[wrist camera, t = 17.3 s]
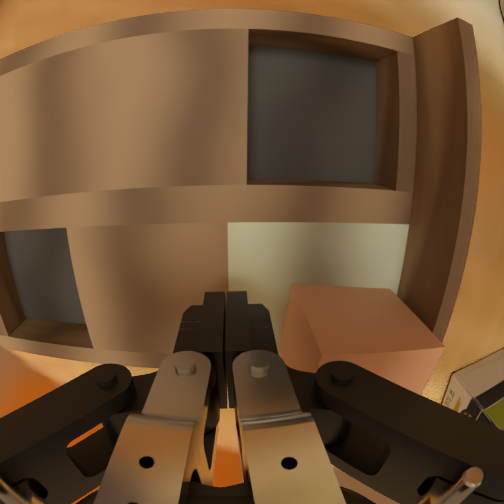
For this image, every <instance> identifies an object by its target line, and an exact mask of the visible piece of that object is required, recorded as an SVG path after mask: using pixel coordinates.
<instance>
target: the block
mask: <svg viewBox="0 0 504 504" xmlns="http://www.w3.org/2000/svg"><path fill="white" fill-rule="evenodd" d="M444 349H445V346H444V345H443V344H442V343H441V342H440V340H439V339H438V338H437V337H436V336H435V335H434V334H433V333H432V332H431V331H430V330H429V329H428V327H427V326H426V325H425V324H424V323H423V322H422V321H421V320H420V319H419V318H418V317H417V316H416V315H415V314H414V313H413V312H412V311H411V310H410V309H409V308H408V307H407V306H406V305H405V304H404V302H403V301H402V300H401V299H400V298H399V297H398V296H397V295H396V294H395V293H394V292H393V291H392V290H391V289H385V288H363V287H344V286H326V285H309V284H293V283H292V285H291V291H290V296H289V302H288V307H287V312H286V317H285V323H284V328H283V333H282V338H281V343H280V348H279V353H278V355H279V356H280V357H281V358H282V359H283V361H284V363H285V364H286V365H287V366H289V367H290V368H293V369H295V370H299V371H304V372H311V373H316V372H317V370H318V369H319V367H321V366H322V365H323V364H325V363H328V362H331V361H348V362H352V363H354V364H357V365H359V366H361V367H363V368H365V369H367V370H369V371H371V372H373V373H375V374H377V375H379V376H381V377H383V378H385V379H387V380H389V381H391V382H393V383H395V384H398V385H400V386H402V387H404V388H406V389H408V390H410V391H413V392H415V393H417V394H419V395H421V394H422V392H423V390H424V388H425V387H426V385H427V383H428V381H429V379H430V377H431V375H432V373H433V371H434V369H435V368H436V366H437V364H438V361H439V359H440V357H441V355H442V353H443V351H444Z"/></svg>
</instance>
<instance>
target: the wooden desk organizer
mask: <svg viewBox="0 0 504 504" xmlns="http://www.w3.org/2000/svg"><path fill="white" fill-rule="evenodd" d="M480 158H481V93H480V79H479V68H478V59H477V52H476V45H475V38H474V32H473V27H472V25H471V24H469V23H467V22H466V21H464V20H462V19H460V18H456V19H453V20H451V21H448V22H446V23H444V24H441V25H439V26H437V27H435V28H432V29H430V30H428V31H426V32H423V33H421V34H419V35H417V36H415V37H410V36H406V35H403V34H400V33H397V32H393V31H390V30H386V29H383V28H379V27H375V26H371V25H367V24H363V23H358V22H354V21H349V20H344V19H339V18H333V17H327V16H321V15H314V14H307V13H298V12H289V11H277V10H262V9H203V10H188V11H176V12H167V13H159V14H151V15H145V16H139V17H133V18H127V19H122V20H117V21H112V22H108V23H104V24H99V25H95V26H91V27H88V28H84V29H80V30H77V31H73V32H70V33H67V34H64V35H61V36H58V37H55V38H52V39H49V40H46V41H43V42H40V43H38V44H35V45H33V46H30V47H28V48H25V49H23V50H20V51H18V52H16V53H13V54H11V55H9V56H7V57H4V58H2V59H0V344H1V347H3V348H8V349H12V350H17V351H22V352H27V353H32V354H38V355H44V356H49V357H56V358H62V359H69V360H76V361H84V362H92V363H101V364H109V363H114V364H119V365H122V366H133V367H148V368H159V367H160V364H161V363H162V361H163V360H164V359H165V358H166V357H168V356H169V355H171V354H173V350H174V346H175V342H176V339H177V335H178V331H179V327H180V323H181V319H182V316H183V312H184V311H186V310H187V309H188V308H189V307H190V306H191V305H203V301H204V295H205V292H219V291H225V295H226V299H227V291H247V299H248V304H263V305H264V306H265V307H266V308H267V309H268V310H269V312H270V317H271V321H272V326H273V331H274V336H275V340H276V345H277V350H278V353H279V348H280V343H281V338H282V333H283V328H284V323H285V317H286V312H287V307H288V302H289V296H290V291H291V285H292V283H293V284H309V285H326V286H344V287H363V288H385V289H391V290H392V291H393V292H394V293H395V294H396V295H397V296H398V297H399V298H400V299H401V300H402V301H403V302H404V304H405V305H406V306H407V307H408V308H409V309H410V310H411V311H412V312H413V313H414V314H415V315H416V316H417V317H418V318H419V319H420V320H421V321H422V322H423V323H424V324H425V325H426V326H427V327H428V329H429V330H430V331H431V332H432V333H433V334H434V335H435V336H436V337H437V338H438V339H439V340H440V342H441V343H442V341H443V338H444V335H445V333H446V330H447V327H448V324H449V321H450V318H451V315H452V311H453V308H454V305H455V301H456V298H457V294H458V291H459V287H460V283H461V280H462V276H463V272H464V267H465V263H466V259H467V254H468V249H469V244H470V239H471V234H472V228H473V222H474V216H475V209H476V201H477V193H478V184H479V172H480Z"/></svg>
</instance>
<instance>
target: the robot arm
mask: <svg viewBox="0 0 504 504" xmlns="http://www.w3.org/2000/svg"><path fill="white" fill-rule="evenodd" d="M500 5H501V10H502V14H503V17H504V0H500ZM227 385H228V398H229V408H235V417H236V430H237V438H238V445H239V452H240V459H241V466H242V472H243V480H244V483H241V484H237V485H232V486H228V487H222V488H221V487H213V472H214V463H215V455H216V447H217V439H218V431H219V425H218V422H219V418H220V408H227ZM100 423H102V425H103V426H104V427H103V428H101V429H100V430H98V431H97V432H95V433H93V434H92V435H90V436H88V437H87V438H85V439H84V440H82V441H80V442H79V443H77V444H75V445H74V446H72V447H69V448H67V445H68V444H69V443H70V442H71V441H72V440H74V439H76V438H77V437H79V436H81V435H82V434H84V433H86V432H87V431H89V430H91V429H92V428H94V427H95V426H97V425H98V424H100ZM331 464H332V465H334V466H335V467H337V468H338V469H340V470H342V471H343V472H345V473H346V474H348V475H350V476H351V477H353V478H355V479H356V480H358V481H360V482H361V483H363V484H365V485H367V486H368V487H370V488H372V489H374V490H375V491H377V492H379V493H381V494H383V495H384V496H386V497H388V498H390V499H392V500H394V501H396V502H398V503H400V504H504V431H503V430H501V429H498V428H496V427H493V426H491V425H488V424H486V423H483V422H481V421H478V420H476V419H474V418H471V417H469V416H467V415H464V414H462V413H459V412H457V411H455V410H453V409H450V408H448V407H446V406H443V405H441V404H439V403H437V402H434V401H432V400H430V399H428V398H426V397H423V396H421V395H419V394H417V393H415V392H413V391H410V390H408V389H406V388H404V387H402V386H400V385H398V384H395V383H393V382H391V381H389V380H387V379H385V378H383V377H381V376H379V375H377V374H375V373H373V372H371V371H369V370H367V369H365V368H363V367H361V366H359V365H357V364H354V363H352V362H348V361H331V362H328V363H325V364H323V365H322V366H321V367H319V369H318V370H317V372H316V373H311V372H304V371H299V370H295V369H293V368H290V367H289V366H287V365H286V364H285V363H284V361H283V359H282V358H281V357H280V356H279V355H278V350H277V345H276V340H275V336H274V331H273V326H272V321H271V317H270V312H269V310H268V309H267V308H266V307H265V306H264V305H263V304H248V299H247V291H227V299H226V295H225V291H219V292H205V295H204V301H203V305H191V306H190V307H189V308H188V309H187V310H186V311H184V312H183V316H182V319H181V323H180V327H179V331H178V335H177V339H176V342H175V346H174V350H173V354H171V355H169V356H168V357H166V358H165V359H164V360H163V361H162V363H161V364H160V367H159V369H158V371H156V372H153V373H150V374H145V375H139V376H133V377H132V376H131V373H130V371H129V370H128V369H127V368H126V367H124V366H122V365H119V364H114V363H109V364H103V365H100V366H97V367H95V368H93V369H91V370H89V371H88V372H86V373H84V374H82V375H80V376H79V377H77V378H75V379H73V380H71V381H69V382H68V383H66V384H64V385H62V386H60V387H58V388H56V389H55V390H53V391H51V392H49V393H47V394H45V395H43V396H42V397H40V398H38V399H36V400H34V401H32V402H30V403H28V404H27V405H25V406H23V407H21V408H19V409H17V410H15V411H13V412H11V413H9V414H8V415H6V416H4V417H2V418H0V504H71V503H73V502H75V501H76V500H78V499H79V498H81V497H83V496H84V495H86V494H87V493H89V492H90V491H92V490H93V489H95V488H96V487H98V486H99V485H100V488H99V490H97V491H95V492H93V493H91V494H89V495H88V496H86V497H85V498H84V499H82V500H80V501H79V502H78V503H76V504H376V503H374V502H372V501H371V500H369V499H367V498H366V497H364V496H362V495H360V494H359V493H357V492H354V491H352V490H350V489H347V488H344V487H341V486H339V484H338V481H337V478H336V476H335V473H334V471H333V468H332V465H331Z"/></svg>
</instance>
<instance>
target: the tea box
mask: <svg viewBox="0 0 504 504" xmlns="http://www.w3.org/2000/svg"><path fill="white" fill-rule="evenodd" d="M442 405H443V406H446V407H448V408H450V409H453V410H455V411H457V412H459V413H462V414H464V415H467V416H469V417H471V418H474V419H476V420H478V421H481V422H483V423H486V424H488V425H491V426H493V427H496V428H498V429H501V430H503V431H504V348H502V349H500V350H498V351H497V352H495V353H493V354H491V355H489V356H487V357H485V358H483V359H481V360H479V361H477V362H475V363H473V364H471V365H469V366H467V367H465V368H463V369H461V370H459V371H457V372H455V373H453V375H452V377H451V380H450V383H449V386H448V389H447V392H446V395H445V397H444V400H443V403H442Z"/></svg>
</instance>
